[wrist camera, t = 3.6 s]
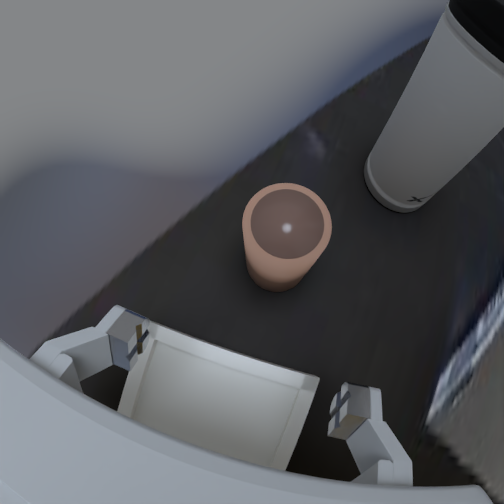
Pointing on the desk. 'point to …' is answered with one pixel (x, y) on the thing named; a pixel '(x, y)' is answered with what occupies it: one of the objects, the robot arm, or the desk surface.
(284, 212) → the cup
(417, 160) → the travel mug
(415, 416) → the desk surface
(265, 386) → the tray
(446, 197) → the desk surface
